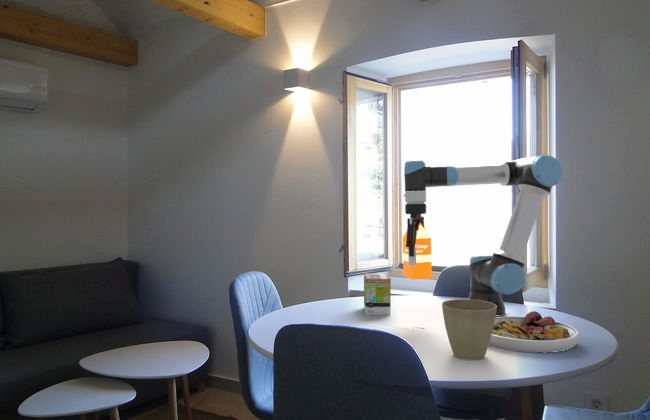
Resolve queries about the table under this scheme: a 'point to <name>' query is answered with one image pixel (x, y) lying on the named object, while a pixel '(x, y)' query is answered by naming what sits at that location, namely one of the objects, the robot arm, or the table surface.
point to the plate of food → (532, 334)
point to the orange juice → (419, 256)
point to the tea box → (377, 294)
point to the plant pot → (469, 326)
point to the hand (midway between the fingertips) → (416, 263)
